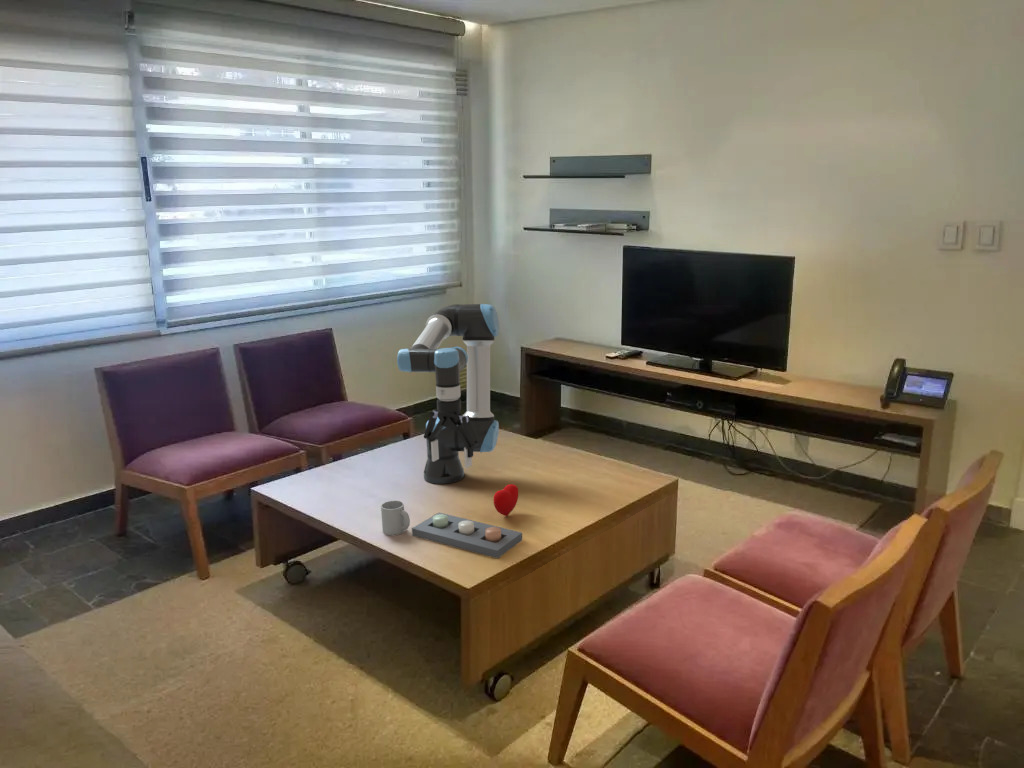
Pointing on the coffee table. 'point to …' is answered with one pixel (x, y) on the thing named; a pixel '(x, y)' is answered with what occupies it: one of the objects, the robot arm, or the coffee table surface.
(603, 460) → the coffee table surface
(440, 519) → the sage button
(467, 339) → the robot arm
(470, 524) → the cream button
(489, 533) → the peach button
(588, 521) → the coffee table surface
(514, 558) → the coffee table surface
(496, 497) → the heart
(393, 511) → the cup
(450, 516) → the panel
